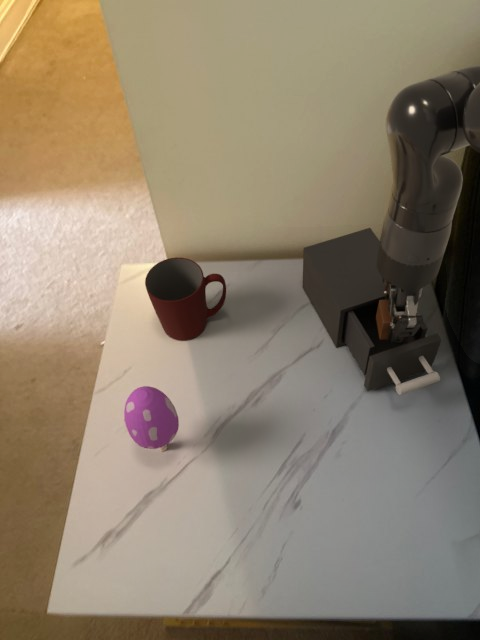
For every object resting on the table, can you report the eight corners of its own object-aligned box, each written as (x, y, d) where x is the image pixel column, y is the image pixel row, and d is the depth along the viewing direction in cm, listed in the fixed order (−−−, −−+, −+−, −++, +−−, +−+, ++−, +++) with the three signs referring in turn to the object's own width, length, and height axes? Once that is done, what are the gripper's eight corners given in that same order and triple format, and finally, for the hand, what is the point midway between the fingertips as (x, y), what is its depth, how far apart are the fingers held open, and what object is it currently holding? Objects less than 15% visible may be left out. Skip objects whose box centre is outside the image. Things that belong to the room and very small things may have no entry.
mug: (227, 296, 96) (221, 251, 88) (233, 338, 91) (227, 294, 82) (157, 306, 96) (144, 261, 87) (159, 348, 91) (145, 305, 82)
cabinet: (402, 325, 90) (413, 286, 82) (336, 348, 88) (340, 310, 81) (363, 267, 98) (370, 227, 90) (302, 287, 96) (303, 247, 89)
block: (403, 316, 81) (408, 298, 78) (408, 338, 78) (413, 321, 75) (375, 317, 81) (379, 299, 78) (379, 339, 79) (383, 322, 75)
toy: (132, 463, 79) (104, 412, 67) (150, 421, 83) (127, 366, 71) (176, 475, 77) (156, 425, 66) (193, 432, 81) (176, 378, 69)
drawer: (446, 392, 81) (459, 363, 75) (381, 416, 80) (388, 388, 74) (390, 308, 91) (397, 276, 85) (331, 328, 90) (334, 296, 83)
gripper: (459, 284, 61) (429, 368, 75) (433, 198, 70) (410, 287, 84) (390, 287, 62) (372, 370, 76) (372, 201, 71) (359, 289, 84)
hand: (392, 326), depth 80 cm, fingers closed on block, 4 cm apart
